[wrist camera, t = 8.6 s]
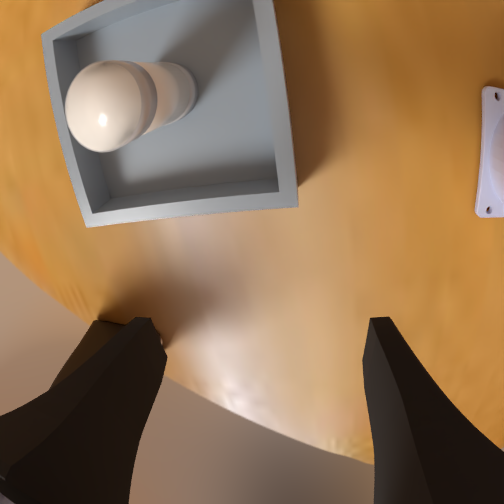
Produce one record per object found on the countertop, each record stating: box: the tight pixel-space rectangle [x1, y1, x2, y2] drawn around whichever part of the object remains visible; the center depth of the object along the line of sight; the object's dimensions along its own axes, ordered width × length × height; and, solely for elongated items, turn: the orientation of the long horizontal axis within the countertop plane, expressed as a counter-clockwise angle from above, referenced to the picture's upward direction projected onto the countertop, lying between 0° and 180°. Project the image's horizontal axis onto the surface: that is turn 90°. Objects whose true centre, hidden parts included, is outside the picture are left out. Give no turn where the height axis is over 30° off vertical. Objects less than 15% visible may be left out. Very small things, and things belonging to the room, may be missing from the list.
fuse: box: [65, 60, 198, 152], centre depth 12 cm, size 3×3×6 cm
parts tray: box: [41, 0, 298, 228], centre depth 14 cm, size 12×12×3 cm
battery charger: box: [49, 320, 163, 390], centre depth 21 cm, size 7×4×11 cm, turn 88°
